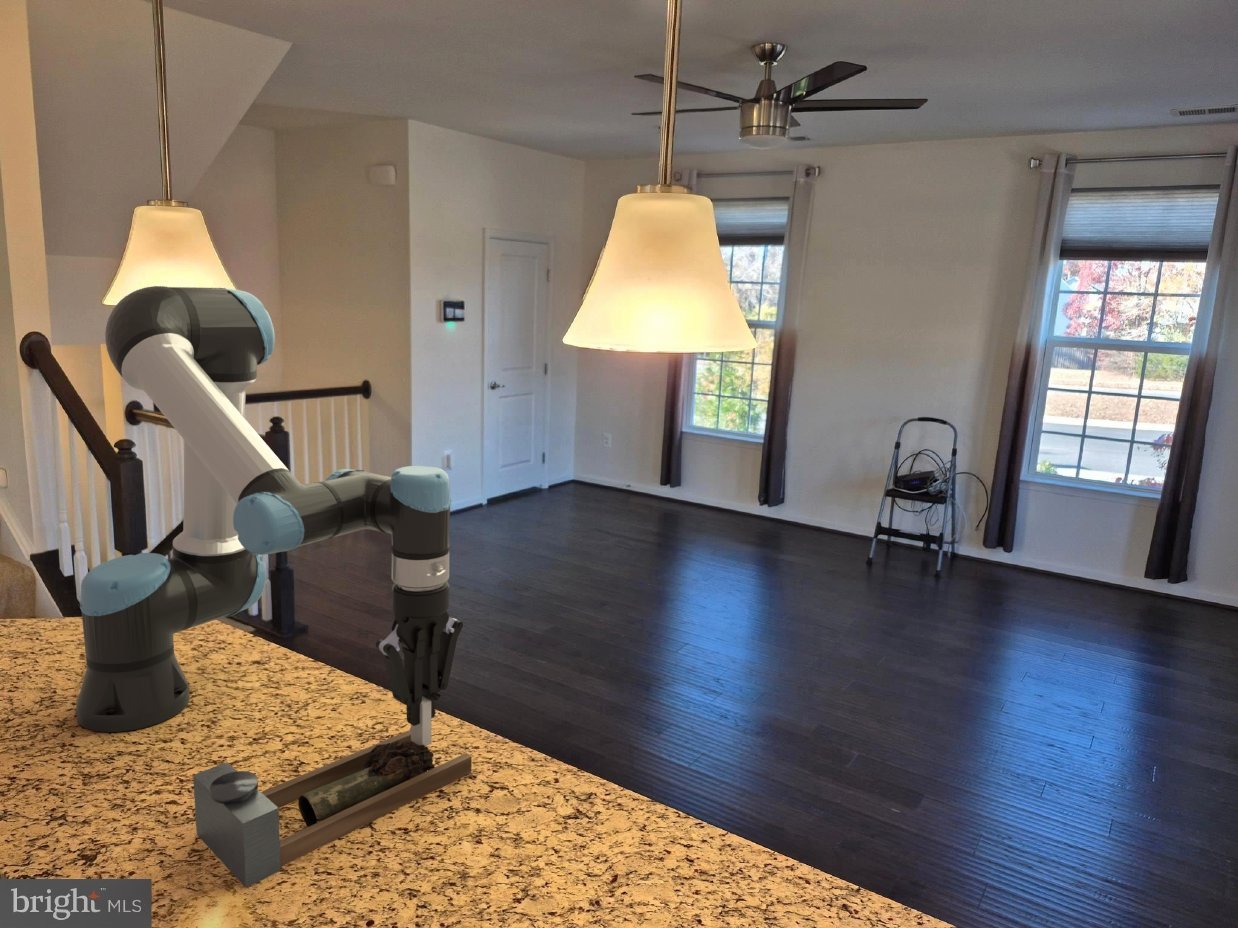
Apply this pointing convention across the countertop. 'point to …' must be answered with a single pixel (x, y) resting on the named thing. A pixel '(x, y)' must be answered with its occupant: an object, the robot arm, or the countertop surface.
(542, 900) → the countertop surface
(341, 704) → the countertop surface
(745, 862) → the countertop surface
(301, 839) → the channel rails
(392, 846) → the countertop surface
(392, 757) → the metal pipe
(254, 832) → the block
